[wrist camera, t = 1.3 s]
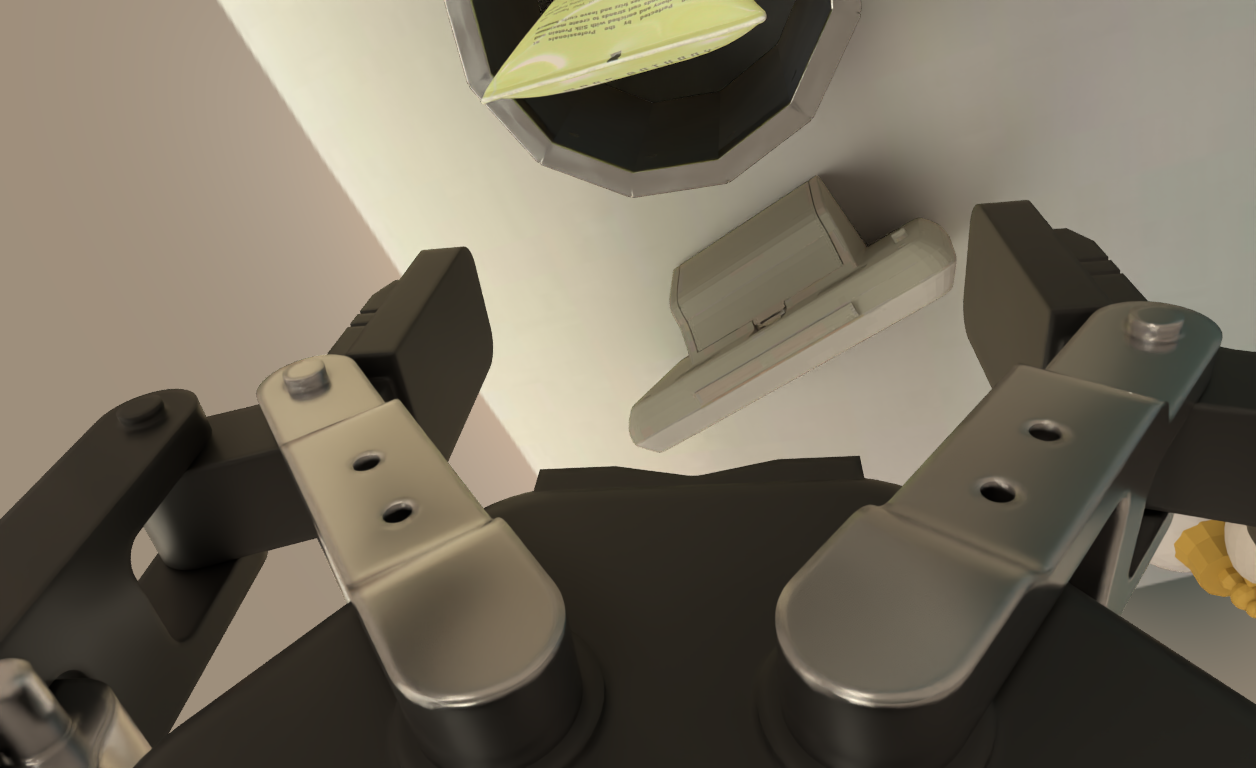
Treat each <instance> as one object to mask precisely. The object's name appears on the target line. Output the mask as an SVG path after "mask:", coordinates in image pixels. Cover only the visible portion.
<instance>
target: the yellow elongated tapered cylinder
mask: <svg viewBox="0 0 1256 768" xmlns="http://www.w3.org/2000/svg"><path fill="white" fill-rule="evenodd" d="M766 16H767V15H766V13H765V11H764V10H763V9H762V8H761V7H760V6H759V5H758V4H757V3H756V2H755V1H754V0H554V1H553V2H552V3H551V5H550V6H549V7H548V8H547V10H546V11H545V12H544V13H543V15H542V16H541V17H540V18H539V20H538V21H537V22H536V23H535V24H534V26H533V27H532V28H531V29H530V31H529V32H528V33H527V34H526V36H525V37H524V38H523V39H522V41H521V42H520V43H519V45H518V46H517V47H516V49H515V50H514V51H513V52H512V54H511V55H510V56H509V58H508V59H507V60H506V62H505V63H504V64H503V66H502V67H501V68H500V70H499V71H498V73H497V74H496V76H495V77H494V78H493V80H492V82H491V83H490V85H489V86H488V88H487V89H486V91H485V93H484V96H483V97H482V99H481V101H480V102H481V103H483V104H485V103H488V102H491V101H494V100H498V99H501V98H505V99H506V98H530V97H540V96H548V95H553V94H559V93H564V92H569V91H574V90H578V89H582V88H586V87H590V86H594V85H598V84H602V83H605V82H609V81H613V80H616V79H620V78H623V77H627V76H631V75H634V74H638V73H642V72H645V71H649V70H652V69H656V68H660V67H663V66H667V65H670V64H674V63H677V62H681V61H685V60H688V59H691V58H694V57H697V56H700V55H703V54H706V53H709V52H711V51H714V50H716V49H718V48H721V47H723V46H725V45H727V44H729V43H731V42H733V41H735V40H736V39H738V38H740V37H741V36H743V35H744V34H746V33H747V32H749V31H750V30H751V29H753V28H754V27H755V26H757V25H758V24H760V23H763V22H764V21H765V20H766Z"/></svg>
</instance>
